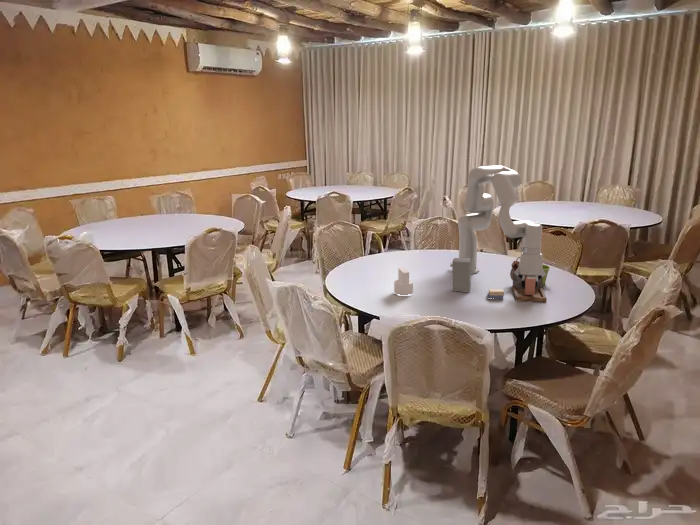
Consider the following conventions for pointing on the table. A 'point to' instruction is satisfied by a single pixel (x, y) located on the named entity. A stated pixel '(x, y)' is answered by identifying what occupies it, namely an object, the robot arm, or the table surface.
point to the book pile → (495, 293)
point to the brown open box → (520, 292)
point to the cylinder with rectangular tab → (403, 283)
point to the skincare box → (461, 274)
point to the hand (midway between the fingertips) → (529, 287)
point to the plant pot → (546, 269)
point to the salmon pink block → (530, 285)
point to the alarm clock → (514, 267)
